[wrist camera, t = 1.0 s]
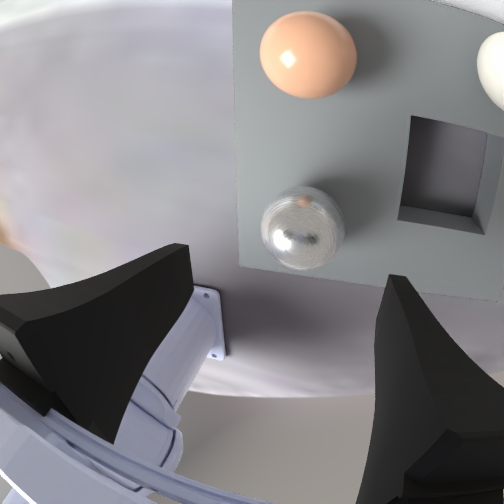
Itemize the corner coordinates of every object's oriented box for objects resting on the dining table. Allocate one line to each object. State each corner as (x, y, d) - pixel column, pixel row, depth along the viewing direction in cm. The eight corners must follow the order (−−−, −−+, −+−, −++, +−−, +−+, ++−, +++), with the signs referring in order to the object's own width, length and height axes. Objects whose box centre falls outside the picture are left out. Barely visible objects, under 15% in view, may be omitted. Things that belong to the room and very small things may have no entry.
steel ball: (271, 241, 18) (250, 280, 15) (272, 172, 16) (249, 198, 13) (341, 250, 17) (336, 293, 14) (349, 180, 15) (348, 209, 12)
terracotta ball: (272, 96, 14) (247, 99, 11) (271, 21, 12) (246, 1, 9) (355, 101, 13) (357, 104, 10) (355, 24, 11) (357, 1, 8)
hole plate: (250, 247, 22) (239, 266, 19) (247, 2, 14) (232, -9, 12) (486, 280, 17) (496, 301, 15) (526, 47, 9) (546, 44, 7)
